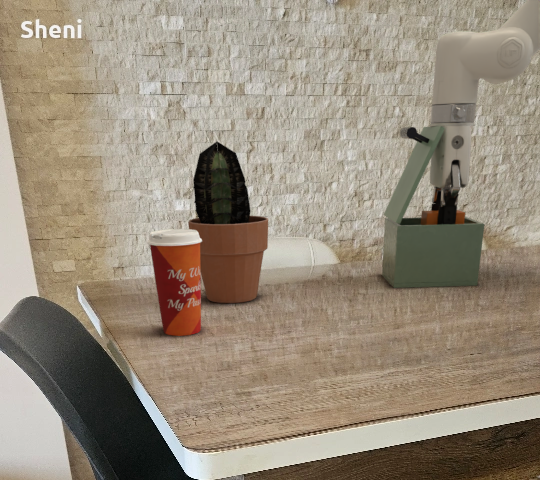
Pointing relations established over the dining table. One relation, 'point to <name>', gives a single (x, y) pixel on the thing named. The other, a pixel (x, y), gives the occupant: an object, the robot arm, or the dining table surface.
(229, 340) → the dining table surface
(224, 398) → the dining table surface
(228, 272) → the potted plant
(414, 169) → the bin lid
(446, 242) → the waste bin
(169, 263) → the paper cup
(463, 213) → the block
